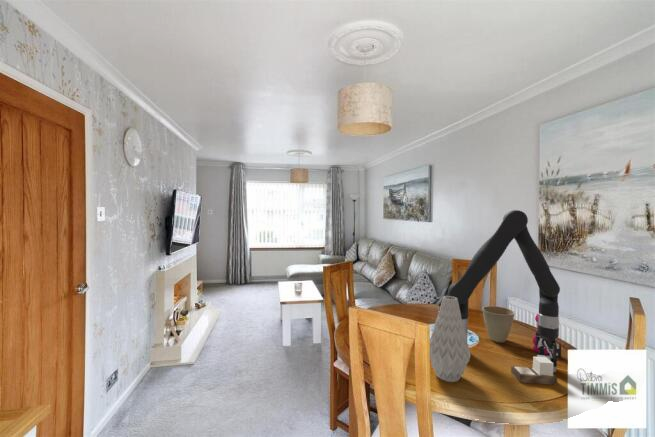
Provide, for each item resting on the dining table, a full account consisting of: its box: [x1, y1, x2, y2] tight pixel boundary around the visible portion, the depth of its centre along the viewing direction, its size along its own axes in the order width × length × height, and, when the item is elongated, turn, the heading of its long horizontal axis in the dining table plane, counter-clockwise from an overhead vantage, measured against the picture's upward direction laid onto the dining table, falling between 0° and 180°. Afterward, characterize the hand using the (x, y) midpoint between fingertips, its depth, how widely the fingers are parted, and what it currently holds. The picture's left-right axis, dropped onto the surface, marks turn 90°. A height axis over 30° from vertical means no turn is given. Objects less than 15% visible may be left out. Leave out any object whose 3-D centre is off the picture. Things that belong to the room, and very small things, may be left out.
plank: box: [510, 365, 558, 385], centre depth 126 cm, size 14×7×3 cm, turn 84°
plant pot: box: [482, 305, 515, 343], centre depth 163 cm, size 15×15×16 cm
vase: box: [429, 295, 471, 383], centre depth 126 cm, size 17×17×33 cm
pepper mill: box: [532, 313, 550, 355], centre depth 151 cm, size 7×7×20 cm
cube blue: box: [536, 354, 557, 373], centre depth 134 cm, size 5×5×5 cm
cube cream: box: [532, 356, 554, 376], centre depth 126 cm, size 5×5×5 cm
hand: (547, 361), depth 134 cm, fingers open, 8 cm apart
